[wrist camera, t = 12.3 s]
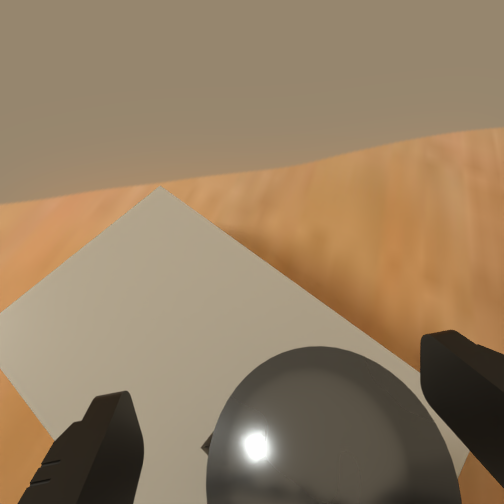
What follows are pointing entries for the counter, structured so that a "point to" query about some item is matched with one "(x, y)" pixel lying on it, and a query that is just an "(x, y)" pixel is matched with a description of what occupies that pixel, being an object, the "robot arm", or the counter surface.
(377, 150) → the counter surface
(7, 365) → the peg block
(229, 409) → the graphite peg
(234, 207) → the counter surface
